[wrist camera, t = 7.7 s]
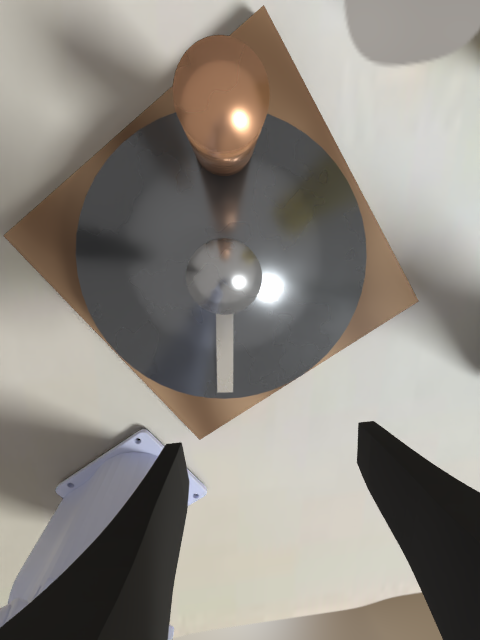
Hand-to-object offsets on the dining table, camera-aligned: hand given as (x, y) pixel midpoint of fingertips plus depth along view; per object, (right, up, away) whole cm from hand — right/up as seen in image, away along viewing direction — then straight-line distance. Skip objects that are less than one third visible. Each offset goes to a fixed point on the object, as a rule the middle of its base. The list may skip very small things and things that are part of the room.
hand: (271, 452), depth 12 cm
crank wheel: (-2, +8, +6) cm, 10 cm away
